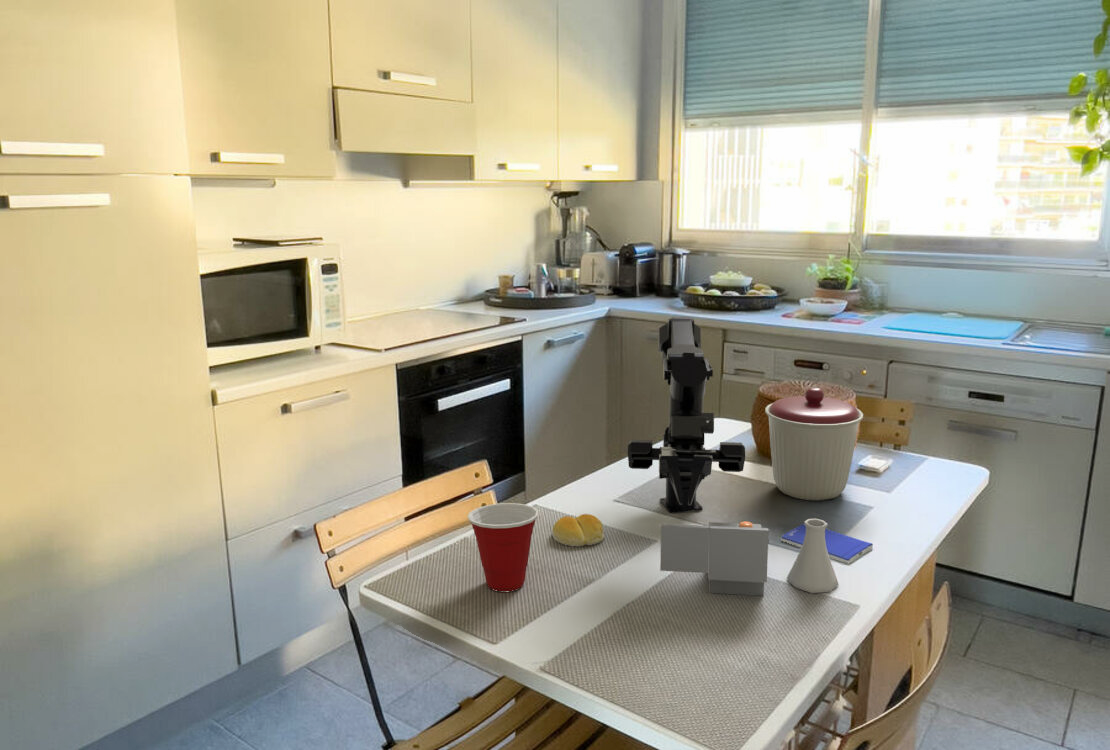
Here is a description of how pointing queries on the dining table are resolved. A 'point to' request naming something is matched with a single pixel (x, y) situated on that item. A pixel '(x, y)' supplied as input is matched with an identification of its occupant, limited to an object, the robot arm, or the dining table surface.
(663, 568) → the side door
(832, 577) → the flask
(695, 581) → the dining table surface
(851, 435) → the canister
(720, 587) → the grey box
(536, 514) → the plastic cup
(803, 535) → the hard drive
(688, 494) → the robot arm
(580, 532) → the bread roll
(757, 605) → the dining table surface
